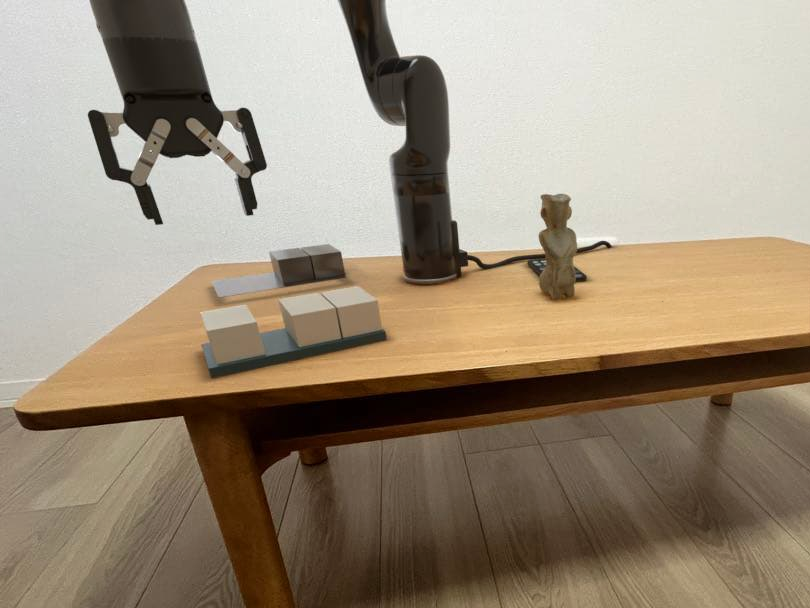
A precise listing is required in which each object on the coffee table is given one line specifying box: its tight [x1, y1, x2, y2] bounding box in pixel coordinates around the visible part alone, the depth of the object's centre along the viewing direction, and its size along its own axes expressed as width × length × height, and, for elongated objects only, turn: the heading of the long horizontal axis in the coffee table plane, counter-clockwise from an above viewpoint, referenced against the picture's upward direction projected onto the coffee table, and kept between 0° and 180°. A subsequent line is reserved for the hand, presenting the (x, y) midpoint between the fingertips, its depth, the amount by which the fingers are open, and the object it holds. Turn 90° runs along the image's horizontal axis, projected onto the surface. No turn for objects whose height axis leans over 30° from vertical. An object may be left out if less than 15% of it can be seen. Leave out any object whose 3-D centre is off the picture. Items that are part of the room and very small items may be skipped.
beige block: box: [199, 304, 265, 365], centre depth 63 cm, size 5×8×4 cm, turn 34°
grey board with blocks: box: [210, 243, 349, 299], centre depth 92 cm, size 20×12×5 cm, turn 124°
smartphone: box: [526, 259, 588, 282], centre depth 98 cm, size 7×1×15 cm
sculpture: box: [538, 193, 578, 300], centre depth 82 cm, size 6×7×15 cm
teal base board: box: [200, 285, 388, 379], centre depth 66 cm, size 20×9×5 cm, turn 124°
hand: (206, 219), depth 58 cm, fingers open, 8 cm apart
